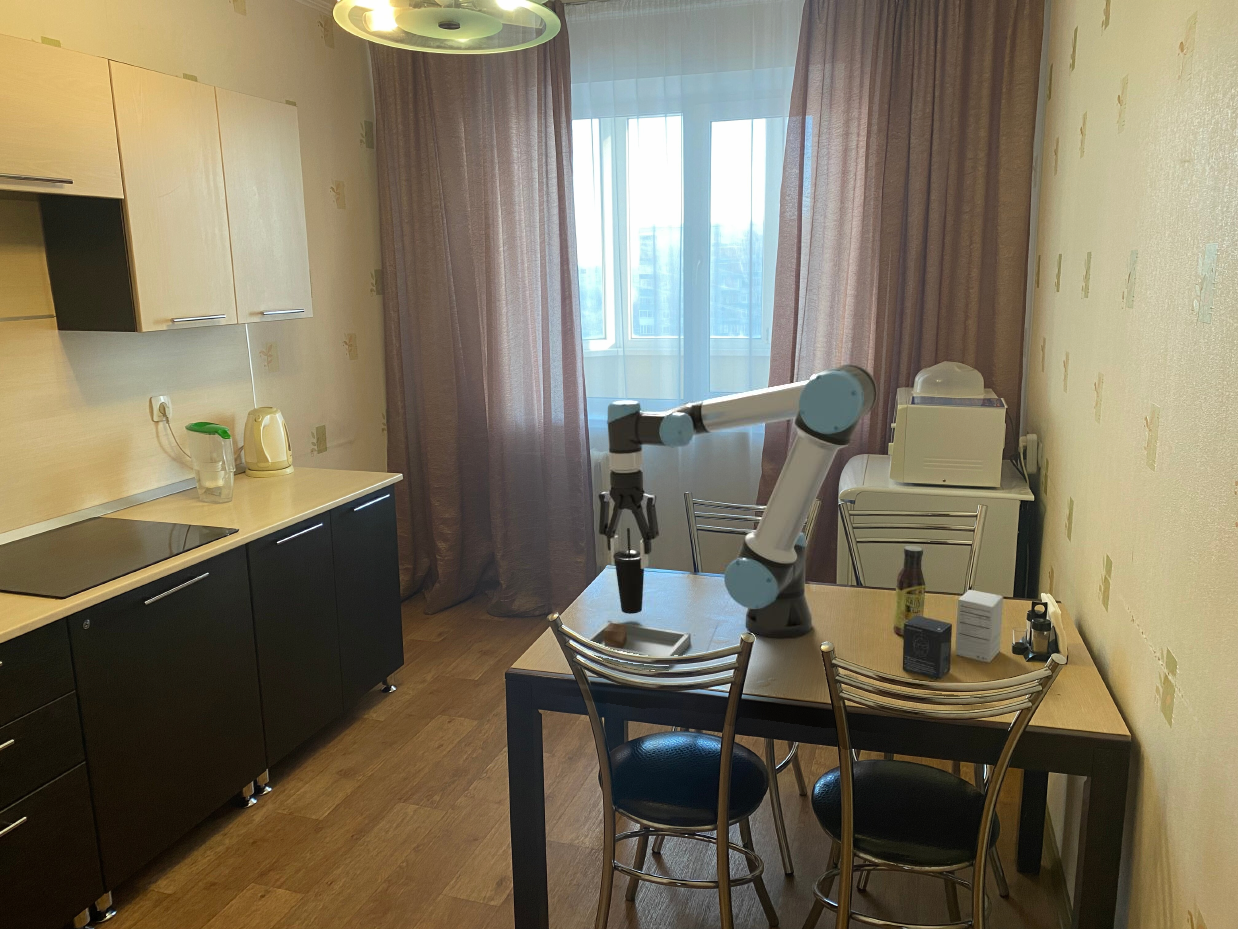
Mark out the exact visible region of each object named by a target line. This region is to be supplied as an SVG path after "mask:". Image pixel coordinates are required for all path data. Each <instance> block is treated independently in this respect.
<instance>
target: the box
mask: <svg viewBox="0 0 1238 929" xmlns="http://www.w3.org/2000/svg"><path fill="white" fill-rule="evenodd" d="M952 631H953V623H951V622H945V621H941V620H937V619H934V618H930V617H925V616H923V617H922V616H918V615H916V616H914V617H912V618H911V619H909V620H908V621H906V622H905V623H904V635H903V640H902V641H903V643H902V644H903V645H902V647H903V648H902V670H903V671H905V672H908V671H909V673H912V674H915V675H919V676H922V675H923V676H924V677H927V678H930V679H933V678H935V679H934V680H936V681H938V680H937V679H939V680H941V679H942V678H943V677H945V676H946V675H948V674H949V673H950V671H951V656H952V654H951V652H952V651H951V650H952V637H953V636H952V634H953V632H952ZM945 674H946V675H945ZM944 675H945V676H944ZM942 676H943V677H942ZM941 677H942V678H941ZM940 678H941V679H940Z"/></svg>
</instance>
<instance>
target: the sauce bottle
mask: <svg viewBox="0 0 1238 929" xmlns="http://www.w3.org/2000/svg"><path fill="white" fill-rule="evenodd" d="M903 554H904V558H903V559H904V560H903V567H902V568H901V570H900V571H899V573H898V575H897V578H896V586H895V596H894V597H895V598H894V610H893V631H894V632H895V634H898V635H899V636H904V623H905V622H906V621H908V620H909V619H911V618H912V617H914V616H916V615H918V616H922V617H924V612H925V611H924V610H925V608H924V607H925V599H926V598H925V597H926V587H927V586H926V581H925V578H924V574H923V569H922V562H923V560H922V559H923V556H924V549H923V547H920V546H917V545H916V546H915V545H907V546H904V549H903Z"/></svg>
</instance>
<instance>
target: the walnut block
mask: <svg viewBox="0 0 1238 929" xmlns="http://www.w3.org/2000/svg"><path fill="white" fill-rule="evenodd" d="M604 641H605V646H609V647H614V648H620V649H623V647H624V645H625V644H626V642H627V628H626V625H622V624H608V626H607V627H606V629H605V630H604Z"/></svg>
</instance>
